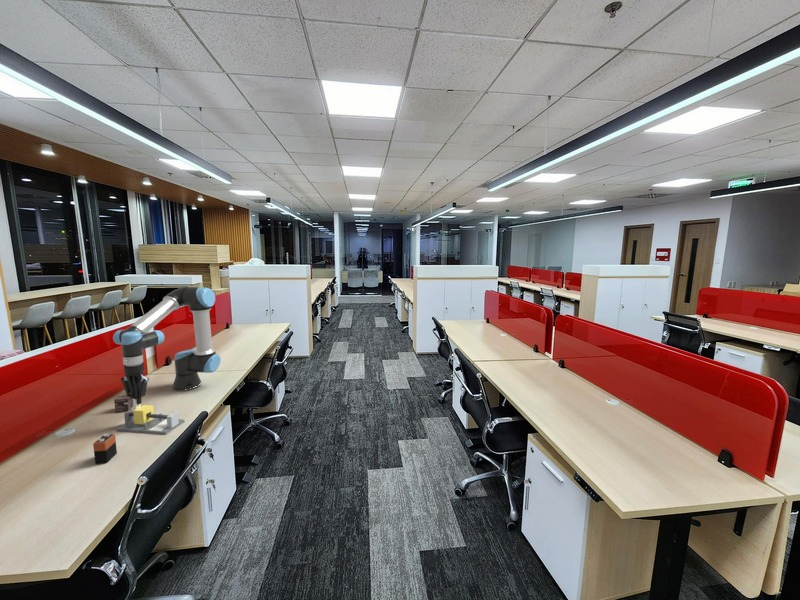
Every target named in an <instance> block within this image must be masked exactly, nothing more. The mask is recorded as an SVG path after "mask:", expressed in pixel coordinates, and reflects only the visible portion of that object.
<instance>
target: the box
mask: <svg viewBox="0 0 800 600" xmlns="http://www.w3.org/2000/svg"><path fill="white" fill-rule="evenodd" d="M132 407H133V404H132V399H131V397H127V394H121V395H118V396H117V397H116V398H115V399H114V410H115V411H114V412H115V413H125V412H127V411H129V410H132V409H133V408H132ZM131 408H132V409H131Z"/></svg>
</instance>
